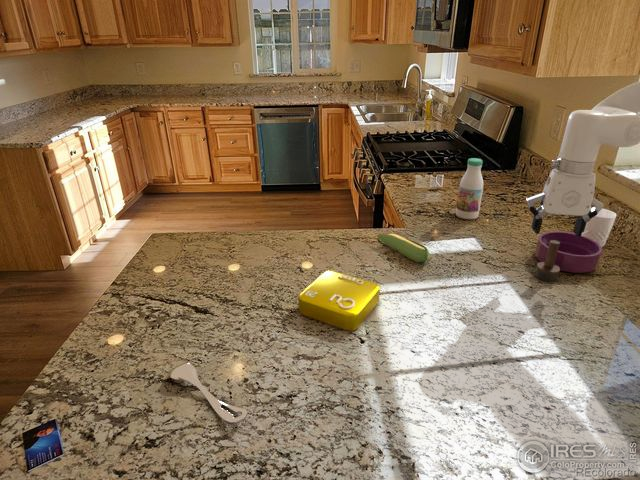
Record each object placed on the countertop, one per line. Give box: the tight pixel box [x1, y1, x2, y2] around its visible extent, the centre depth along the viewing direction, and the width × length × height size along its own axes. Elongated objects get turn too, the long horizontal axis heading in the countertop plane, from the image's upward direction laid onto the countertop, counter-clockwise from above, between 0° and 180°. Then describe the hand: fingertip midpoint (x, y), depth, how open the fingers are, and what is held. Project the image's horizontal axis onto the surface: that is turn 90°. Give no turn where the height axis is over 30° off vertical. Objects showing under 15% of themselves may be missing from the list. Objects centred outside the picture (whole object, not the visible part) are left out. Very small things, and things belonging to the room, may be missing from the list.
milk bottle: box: [455, 157, 484, 220], centre depth 144 cm, size 8×8×20 cm
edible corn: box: [376, 232, 431, 263], centre depth 123 cm, size 5×20×5 cm, turn 35°
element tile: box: [298, 270, 381, 332], centre depth 99 cm, size 15×15×5 cm
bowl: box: [534, 230, 603, 274], centre depth 118 cm, size 15×15×6 cm
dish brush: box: [534, 240, 561, 283], centre depth 109 cm, size 5×5×10 cm
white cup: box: [582, 207, 617, 248], centre depth 127 cm, size 8×8×10 cm
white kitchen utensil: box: [168, 361, 248, 424], centre depth 74 cm, size 20×4×5 cm
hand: (556, 233), depth 106 cm, fingers open, 9 cm apart
